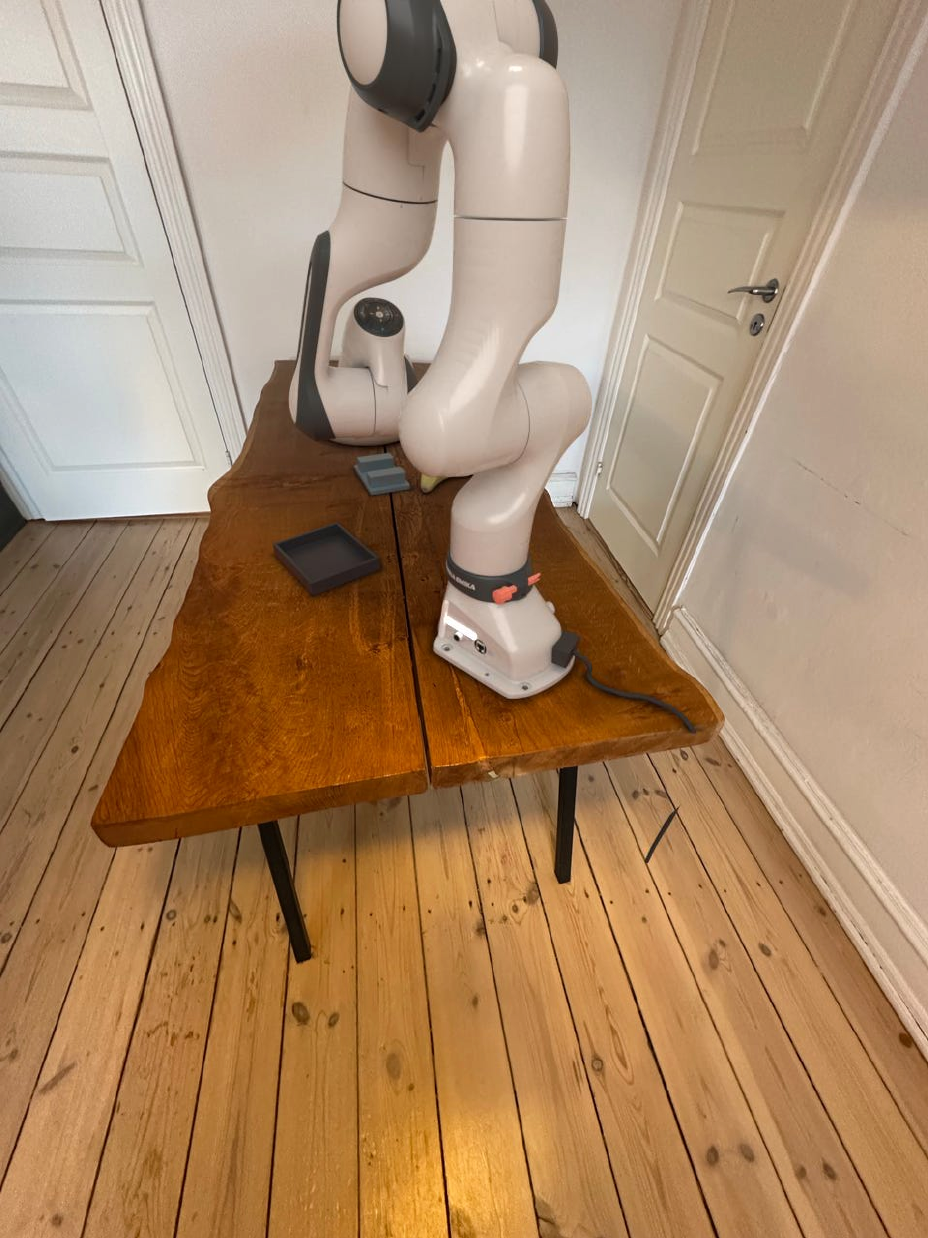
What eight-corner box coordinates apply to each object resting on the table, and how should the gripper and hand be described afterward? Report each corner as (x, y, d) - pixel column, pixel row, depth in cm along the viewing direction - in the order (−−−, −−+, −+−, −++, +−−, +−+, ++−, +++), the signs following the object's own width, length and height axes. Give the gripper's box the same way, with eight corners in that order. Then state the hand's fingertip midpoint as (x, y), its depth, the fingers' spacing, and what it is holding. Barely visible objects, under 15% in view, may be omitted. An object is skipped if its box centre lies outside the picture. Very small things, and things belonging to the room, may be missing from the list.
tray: (380, 569, 98) (379, 557, 97) (313, 595, 92) (311, 583, 90) (339, 533, 107) (337, 521, 106) (274, 554, 101) (272, 543, 99)
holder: (410, 489, 122) (409, 474, 120) (371, 495, 119) (369, 480, 117) (390, 463, 132) (390, 449, 130) (354, 469, 129) (352, 454, 127)
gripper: (305, 400, 87) (303, 438, 100) (426, 388, 93) (409, 425, 107) (295, 363, 87) (295, 405, 100) (417, 353, 94) (401, 394, 107)
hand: (355, 415), depth 103 cm, fingers closed on tape, 3 cm apart
